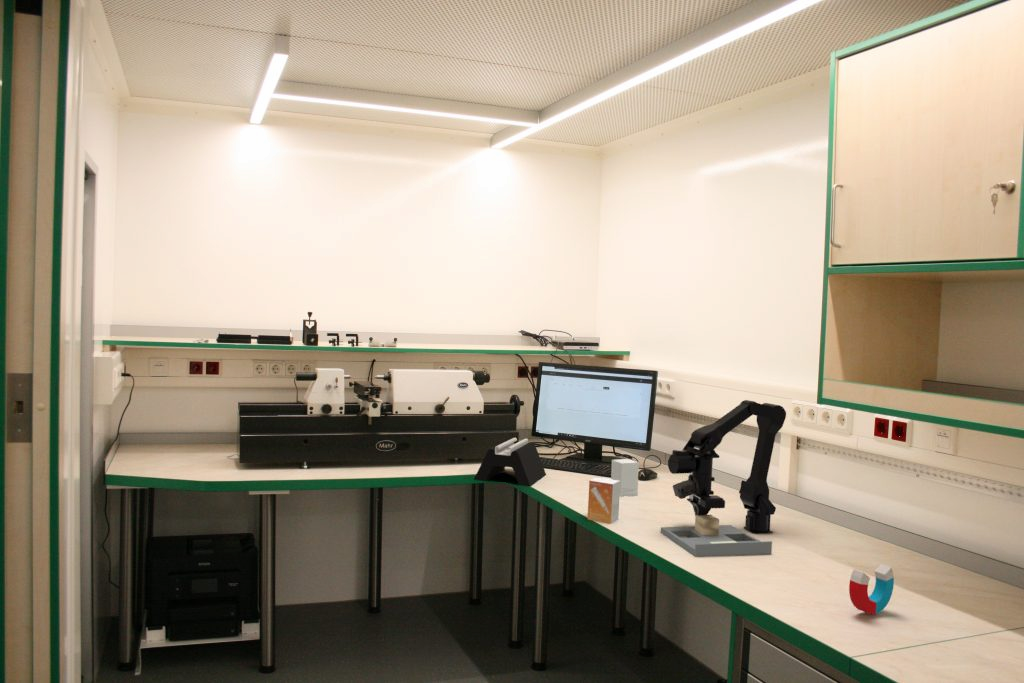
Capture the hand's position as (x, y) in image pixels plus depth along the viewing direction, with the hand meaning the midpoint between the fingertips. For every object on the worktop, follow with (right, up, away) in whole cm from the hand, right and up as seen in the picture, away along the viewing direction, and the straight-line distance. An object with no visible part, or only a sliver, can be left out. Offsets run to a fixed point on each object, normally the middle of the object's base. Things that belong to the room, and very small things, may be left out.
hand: (699, 524), depth 226 cm
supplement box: (-16, -1, +47) cm, 49 cm away
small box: (-27, -2, +11) cm, 30 cm away
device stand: (-56, +1, +65) cm, 86 cm away
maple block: (+1, -1, -4) cm, 5 cm away
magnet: (+24, -6, -57) cm, 62 cm away
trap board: (+2, -4, -8) cm, 9 cm away
